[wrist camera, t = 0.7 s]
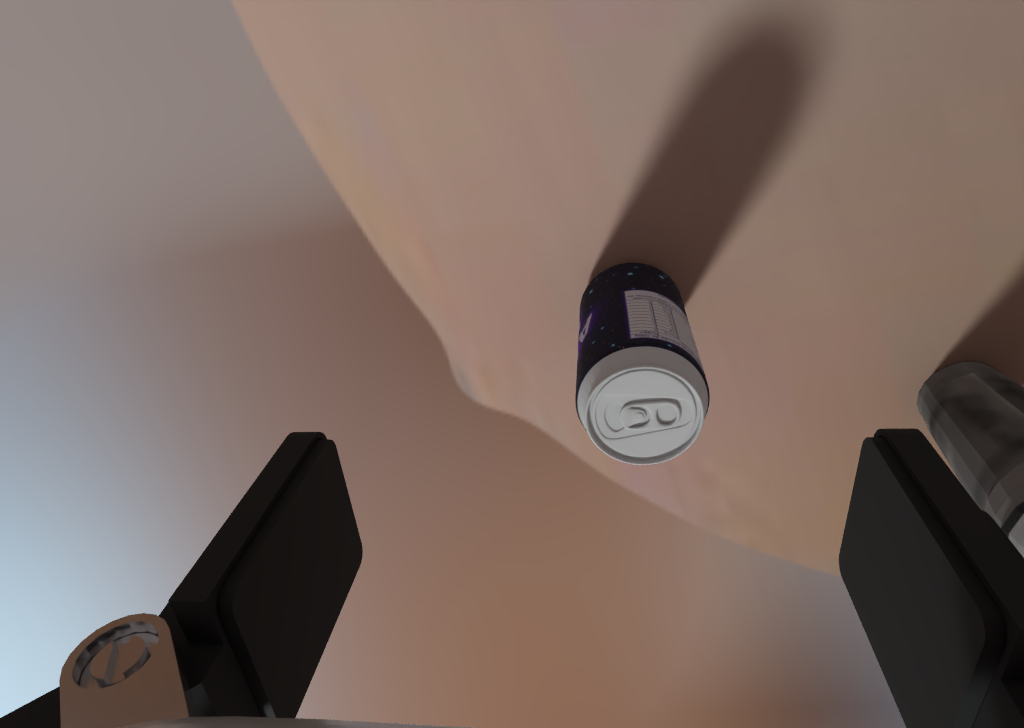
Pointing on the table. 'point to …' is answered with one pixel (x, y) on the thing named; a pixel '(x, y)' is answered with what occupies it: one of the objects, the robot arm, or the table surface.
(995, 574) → the robot arm
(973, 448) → the beverage cup
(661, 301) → the beverage can
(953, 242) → the table surface
